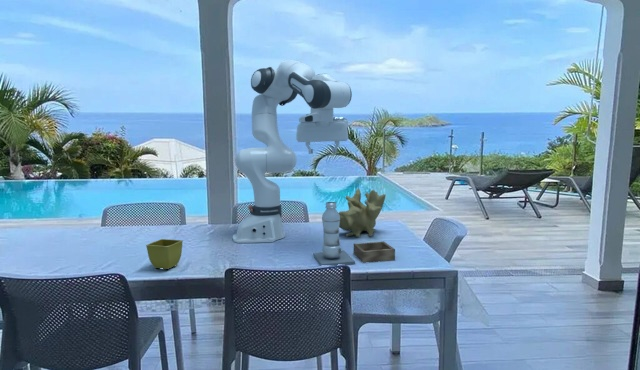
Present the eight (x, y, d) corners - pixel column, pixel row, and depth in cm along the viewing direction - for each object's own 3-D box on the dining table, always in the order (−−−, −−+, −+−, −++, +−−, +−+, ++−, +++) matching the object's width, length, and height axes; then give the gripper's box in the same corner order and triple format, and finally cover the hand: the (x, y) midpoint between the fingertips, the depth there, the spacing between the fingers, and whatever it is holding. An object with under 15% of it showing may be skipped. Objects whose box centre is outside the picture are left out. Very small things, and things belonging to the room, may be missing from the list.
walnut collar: (362, 262, 154) (362, 251, 154) (353, 254, 165) (353, 243, 165) (395, 260, 157) (395, 249, 157) (383, 251, 168) (383, 241, 167)
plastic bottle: (335, 261, 153) (335, 205, 150) (318, 258, 157) (318, 203, 154) (344, 256, 159) (343, 202, 156) (328, 254, 162) (327, 200, 159)
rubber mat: (321, 267, 151) (321, 264, 151) (313, 255, 164) (312, 252, 164) (355, 264, 153) (355, 261, 153) (344, 252, 167) (343, 250, 167)
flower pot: (163, 262, 158) (161, 238, 157) (184, 264, 156) (183, 239, 154) (147, 270, 150) (145, 244, 149) (169, 272, 147) (167, 246, 146)
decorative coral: (399, 203, 202) (376, 174, 185) (397, 247, 190) (371, 219, 174) (350, 212, 215) (324, 185, 198) (345, 253, 203) (316, 228, 187)
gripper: (345, 117, 176) (345, 152, 178) (295, 118, 171) (295, 153, 173) (350, 117, 170) (350, 152, 172) (297, 117, 165) (298, 154, 167)
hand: (322, 153), depth 172 cm, fingers open, 8 cm apart
